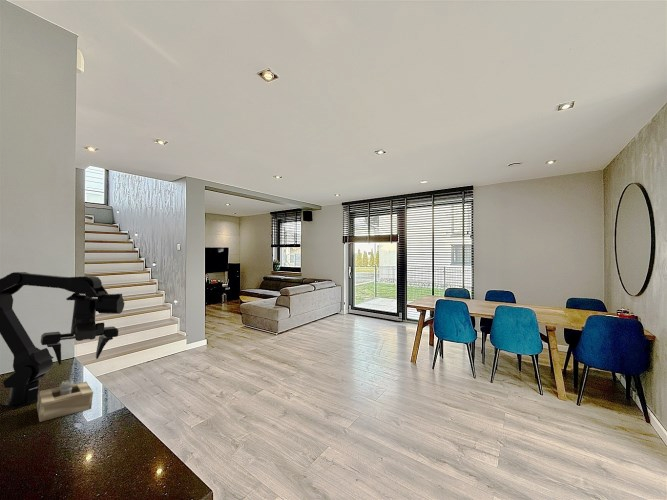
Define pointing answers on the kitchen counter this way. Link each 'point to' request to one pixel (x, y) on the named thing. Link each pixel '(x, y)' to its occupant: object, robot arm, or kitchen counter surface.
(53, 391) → the box
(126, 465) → the kitchen counter surface
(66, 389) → the rook chess piece
